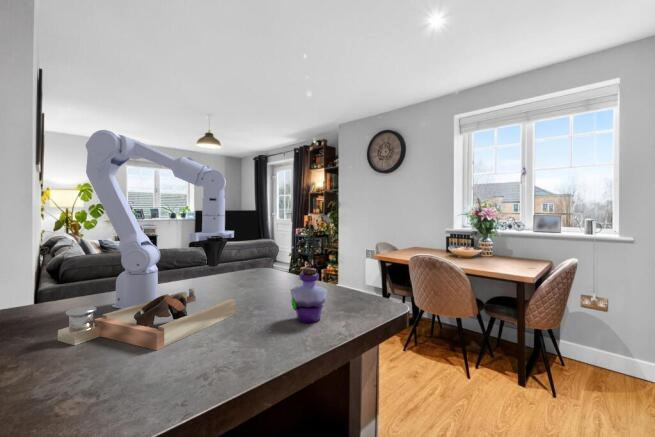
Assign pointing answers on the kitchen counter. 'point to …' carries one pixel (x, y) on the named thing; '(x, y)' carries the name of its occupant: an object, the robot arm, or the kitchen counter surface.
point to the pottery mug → (162, 309)
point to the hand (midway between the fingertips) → (213, 266)
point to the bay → (125, 329)
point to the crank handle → (191, 296)
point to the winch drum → (79, 326)
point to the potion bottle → (308, 297)
